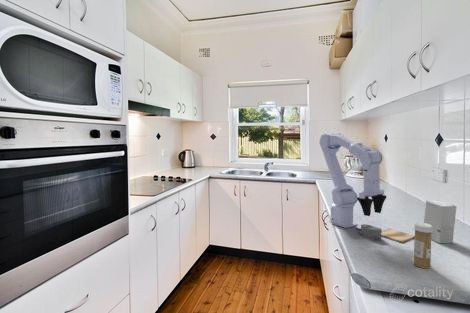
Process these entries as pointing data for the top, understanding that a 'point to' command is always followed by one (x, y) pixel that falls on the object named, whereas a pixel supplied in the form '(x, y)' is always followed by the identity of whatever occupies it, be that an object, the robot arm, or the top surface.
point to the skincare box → (440, 220)
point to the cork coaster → (396, 235)
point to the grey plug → (370, 232)
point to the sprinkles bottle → (422, 245)
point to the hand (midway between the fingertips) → (372, 214)
